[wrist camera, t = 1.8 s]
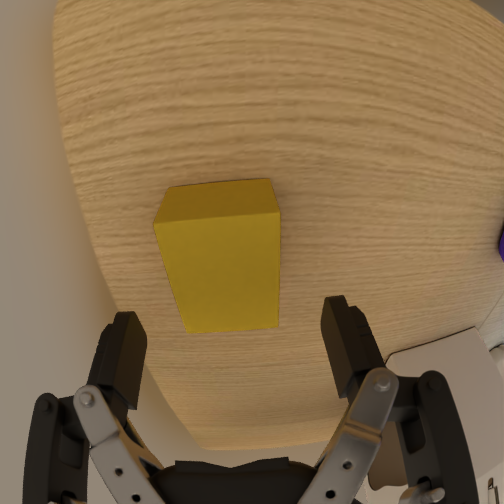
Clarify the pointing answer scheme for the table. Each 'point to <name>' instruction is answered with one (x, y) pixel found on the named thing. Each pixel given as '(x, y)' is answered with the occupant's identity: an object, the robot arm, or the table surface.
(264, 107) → the table surface
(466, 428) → the gable box
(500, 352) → the water bottle
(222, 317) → the block
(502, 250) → the bottle
